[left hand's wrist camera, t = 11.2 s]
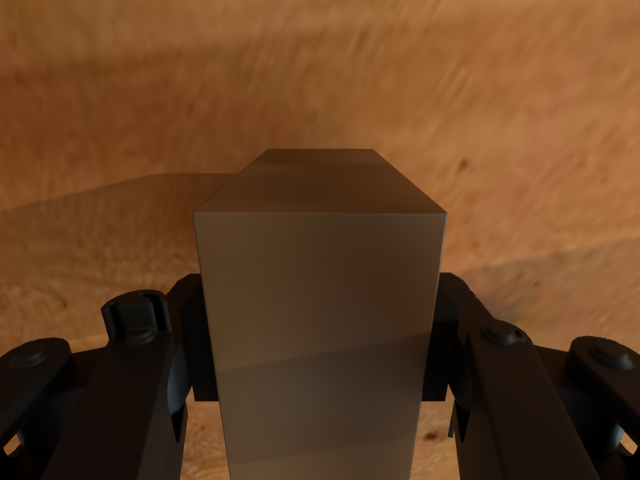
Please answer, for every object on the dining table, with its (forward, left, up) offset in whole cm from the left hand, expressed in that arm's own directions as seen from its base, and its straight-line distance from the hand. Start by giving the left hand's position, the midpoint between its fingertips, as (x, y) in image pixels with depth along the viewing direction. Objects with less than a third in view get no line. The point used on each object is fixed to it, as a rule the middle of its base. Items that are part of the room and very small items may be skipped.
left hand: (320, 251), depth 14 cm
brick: (0, 0, -3) cm, 3 cm away
